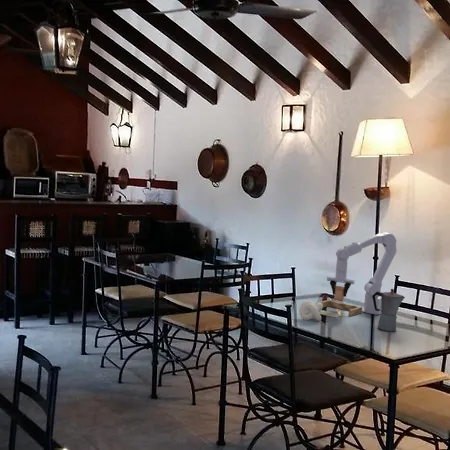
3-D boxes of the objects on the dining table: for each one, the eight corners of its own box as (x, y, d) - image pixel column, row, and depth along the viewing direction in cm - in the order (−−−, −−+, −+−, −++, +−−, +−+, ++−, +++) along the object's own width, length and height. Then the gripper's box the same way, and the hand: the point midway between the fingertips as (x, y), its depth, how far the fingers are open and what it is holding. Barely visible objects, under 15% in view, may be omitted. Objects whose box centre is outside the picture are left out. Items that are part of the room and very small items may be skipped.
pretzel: (328, 323, 306) (329, 305, 305) (305, 323, 303) (307, 305, 302) (318, 317, 317) (319, 300, 316) (296, 317, 313) (297, 300, 312)
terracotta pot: (346, 299, 334) (347, 287, 333) (341, 300, 330) (342, 288, 329) (337, 297, 337) (338, 285, 337) (331, 298, 333) (333, 286, 332)
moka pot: (404, 333, 295) (408, 291, 293) (372, 331, 295) (375, 289, 293) (399, 327, 304) (402, 287, 302) (367, 325, 305) (371, 285, 303)
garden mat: (343, 315, 324) (343, 314, 324) (335, 317, 318) (335, 317, 318) (319, 310, 333) (319, 309, 333) (312, 312, 326) (312, 311, 326)
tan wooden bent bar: (361, 312, 332) (362, 307, 332) (350, 316, 323) (351, 310, 322) (327, 305, 346) (327, 300, 345) (315, 308, 336) (315, 303, 336)
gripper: (356, 271, 332) (354, 296, 334) (330, 268, 339) (328, 292, 340) (353, 273, 326) (351, 298, 327) (326, 269, 332) (324, 294, 334)
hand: (339, 295), depth 333 cm, fingers closed on terracotta pot, 5 cm apart
